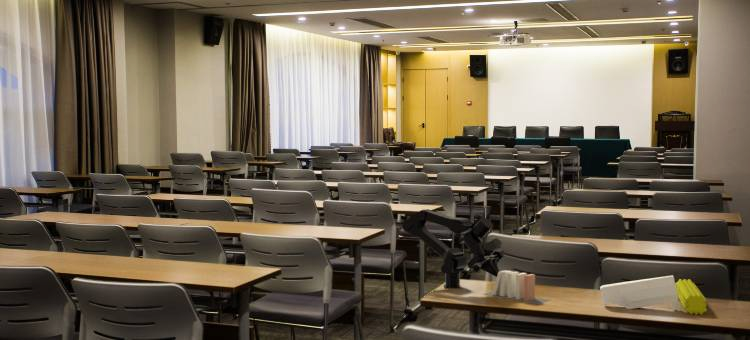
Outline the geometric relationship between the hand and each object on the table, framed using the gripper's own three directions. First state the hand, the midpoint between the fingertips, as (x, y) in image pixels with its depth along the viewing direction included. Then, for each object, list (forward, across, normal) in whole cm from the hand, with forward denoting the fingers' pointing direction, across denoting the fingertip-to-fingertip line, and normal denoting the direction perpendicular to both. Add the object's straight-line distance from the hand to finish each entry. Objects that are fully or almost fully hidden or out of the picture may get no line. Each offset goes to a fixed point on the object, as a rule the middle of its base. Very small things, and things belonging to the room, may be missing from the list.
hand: (499, 277), depth 289 cm
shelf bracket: (+39, +16, -28) cm, 51 cm away
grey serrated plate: (+10, 0, 0) cm, 10 cm away
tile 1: (+4, 0, +5) cm, 6 cm away
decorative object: (+47, +34, -36) cm, 68 cm away
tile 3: (+9, 0, 0) cm, 9 cm away
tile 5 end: (+14, 0, -4) cm, 15 cm away
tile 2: (+6, 0, +3) cm, 7 cm away
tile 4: (+11, 0, -2) cm, 12 cm away
